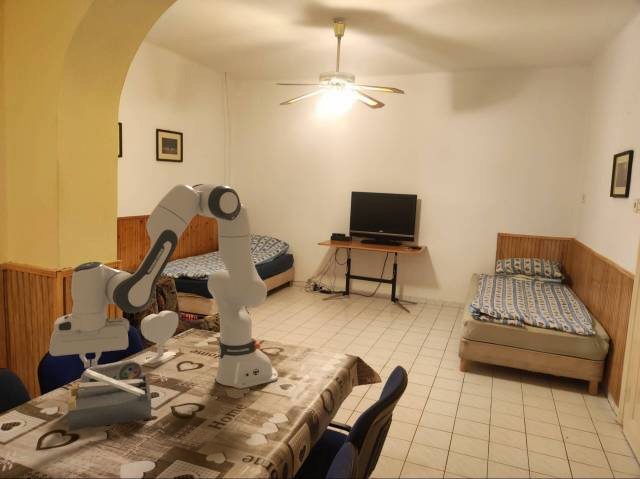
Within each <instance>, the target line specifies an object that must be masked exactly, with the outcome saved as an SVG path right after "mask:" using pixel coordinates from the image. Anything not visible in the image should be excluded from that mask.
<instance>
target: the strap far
mask: <svg viewBox="0 0 640 479" xmlns="http://www.w3.org/2000/svg"><path fill="white" fill-rule="evenodd" d="M118 381H120V382H123V383H126V384H128V385H131V386H135V385H139V382H143V381H144V380H142V379H130V380H118ZM109 387H114V386H112V385H109V384H106V383H104V382H88V383H81V382H80V383H79V390H85V389H95V388H109Z"/></svg>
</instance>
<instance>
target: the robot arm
mask: <svg viewBox="0 0 640 479" xmlns="http://www.w3.org/2000/svg"><path fill="white" fill-rule="evenodd" d="M196 216H202V217H205V218H214V219H215V220H216V223H217V240H218V256H219V258H220V260H221V261H222V263H223V264H224V265H225V267H226V269H219V270H215V271H214V272H212V273H211V274H210V276H209V278H208V279H207V290H208V292H209V293H210V294H211V296H212V297H213V300H214V302H215V305H216V306H215V307H216V309H217V311H218V317H219V326H220V338H219V341H218V357H219V358H218V359H219V360H218V365H217V366H218V367H217V371H216V375H215V381H216V382H217V383H218V384H220V385H223V386H228V387H229V386H230V387H233V388H236V389H245V388H250V387H254V386H257V385H261V384H266V383H267V384H268V383H270V382H276V381H277V380H278V378H279V374H278V371H277V370H276V368H274V367H273V366H272V363H271V362H272V361H271V359H270V358H269V357H268V355H267V354H265V353H264V352H263V351H261V350H259V349H260V348H261V344H260V343H259V342H257V340H256V339H254V338H253V337H252V332H253V331H252V324H253V321H252V318H251V316H250V314H249V313H248V310H246V308H257V307H260V306H261V305H262V304H263V303H264V301H265V300H266V299H267V295H268V288H267V284H266V283H265V282H264V280H263V279H261V278H262V277H261V276H260V275H259V273H258V270H257V268H256V266H255V262H254V259H253V254H252V244H251V243H252V242H251V240H252V238H251V226H250V225H251V224H250V219H249V213H248V210H247V207H246V206H245V205H244V204H242V203H241V200H240V196H239V194H238V193H237V191H236V190H235V189H234V188H233V187H230V186H227V185H222V184H217V183H206V184H205V183H198V184H195V185H193V186H190V185H187V184H184V183H183V184H181V183H180V184H176V185H175V186H174V187H172V188H171V189H170V190H169V191H168V192H167V193H165V195H164V196H163V198H161V200H160V201H159V202H158V203H157V204H156V206H155V208H154V209H153V210H152V211H151V213H150V215H149V217H148V218H147V222H145V225H146V231H147V234H148V236H149V238H150V248H149V249H148V252H147V253H146V255H145V257H144V258H143V259H142V262H141V263H140V265H139V267H138V268H137V270H135V271H134V273H133V274H131V273H129V272H127V271H125V270H120V269H115V268H112V267H109V266H107V265H105V264H104V263H103V262H101V261H90V262H85V263H81V264H80V265H78V266H76V267H75V268H74V270H73V272H72V276H71V284H70V285H71V291H70V294H71V298H72V306H71V307H72V308H71V313H69V314H66V315H63V316H60V317H57V319H55V321H54V323H53V331H52V334H51V336H50V341H49V349H48V350H49V352H48V353H49V354H50V355H51V357H60V356H69V355H79V358H80V359H81V361H82V362H83V365H84V366H83V367H84V368H83V369H88V368H90V367H97V366H98V360H99V359H100V357H101V356H102V352H111V351H122V350H127V349H128V347H129V336H128V332H129V331H130V321H129V320H128V319H127V318H124V317H117V318H116V317H111V318H110V317H108V318H107V316H108V315H107V314H108V313H107V312H108V311H107V310H108V308H107V306H108V305H111V304H113V305H115V306H116V307H118V309H119V310H121V311H122V312H123V313H126V314H137V313H140V312H142V311H144V310H145V309H147V307H148V306H149V304H151V302H152V301H153V300H152V299H153V296H154V293H155V292H154V291H155V287H156V285H157V283H158V281H159V279H160V278H161V275H162V274H163V272H164V270H165V269H166V267H167V265H168V264H169V262H170V261H171V258H172V256H173V255H174V253H175V250H176V248H177V246H178V243H179V240H180V238H181V236H182V235H183V233H184V231H186V228H188V226H189V224H190V223H191V222H192V219H193V218H195V217H196ZM92 353H93V354H94V353H95V358H92V359H87V358H86V354H92Z"/></svg>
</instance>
